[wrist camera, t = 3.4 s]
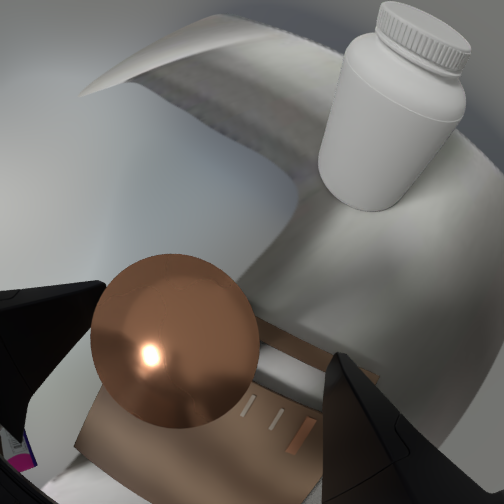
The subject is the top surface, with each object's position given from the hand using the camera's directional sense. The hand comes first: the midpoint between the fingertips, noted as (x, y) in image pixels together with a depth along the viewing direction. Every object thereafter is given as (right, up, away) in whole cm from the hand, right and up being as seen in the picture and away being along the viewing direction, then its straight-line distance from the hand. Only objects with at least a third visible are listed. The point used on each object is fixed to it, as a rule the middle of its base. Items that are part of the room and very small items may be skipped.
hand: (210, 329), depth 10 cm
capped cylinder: (0, -3, +8) cm, 9 cm away
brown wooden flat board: (-1, -9, +6) cm, 11 cm away
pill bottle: (+11, +9, +13) cm, 19 cm away
